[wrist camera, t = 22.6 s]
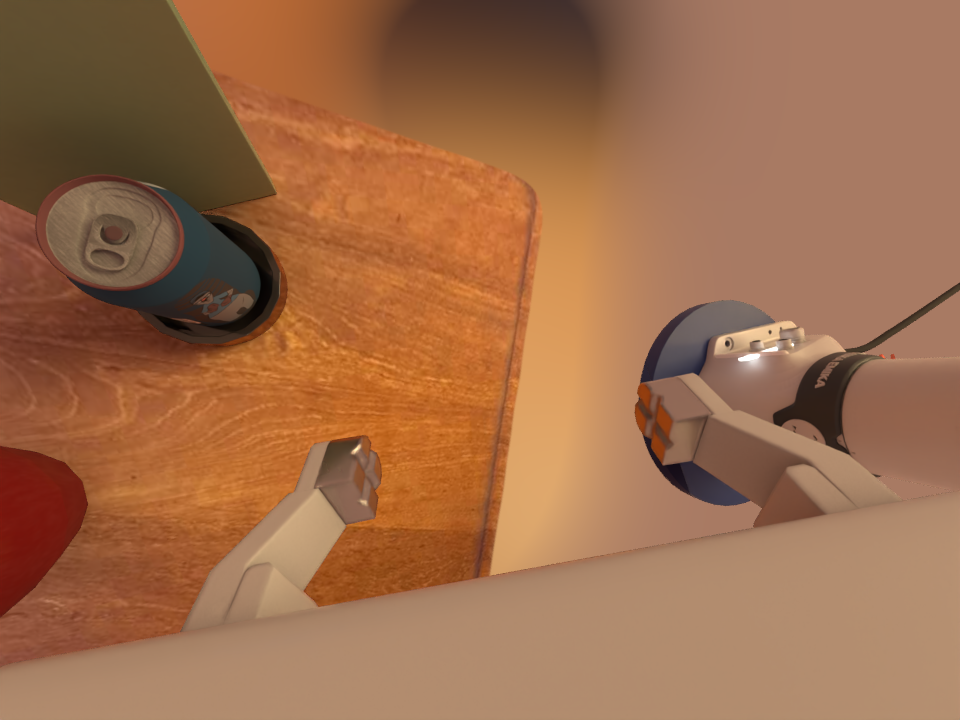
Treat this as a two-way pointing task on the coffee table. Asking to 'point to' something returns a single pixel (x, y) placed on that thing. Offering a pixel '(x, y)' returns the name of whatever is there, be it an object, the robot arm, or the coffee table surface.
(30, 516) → the apple
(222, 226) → the holder
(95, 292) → the soda can
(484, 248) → the coffee table surface
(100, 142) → the olive green plank
